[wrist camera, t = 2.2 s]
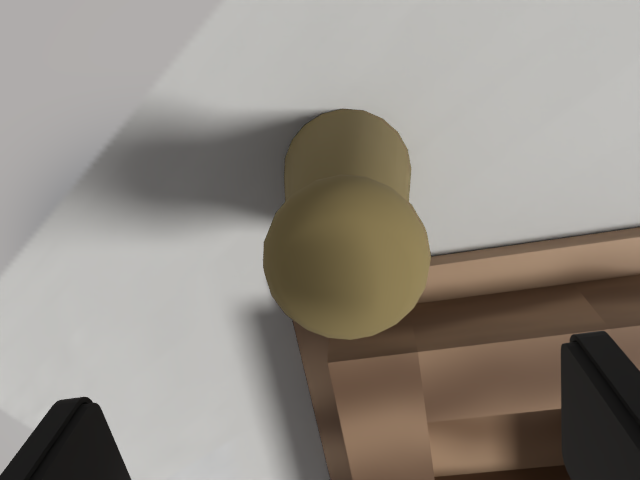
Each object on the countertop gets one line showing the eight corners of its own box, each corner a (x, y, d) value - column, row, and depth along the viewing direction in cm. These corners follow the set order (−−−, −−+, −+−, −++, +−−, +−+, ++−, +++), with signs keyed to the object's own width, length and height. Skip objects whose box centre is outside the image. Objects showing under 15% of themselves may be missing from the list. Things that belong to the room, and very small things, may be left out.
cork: (410, 103, 23) (455, 174, 13) (412, 228, 26) (452, 367, 16) (276, 113, 24) (224, 190, 14) (290, 235, 26) (255, 374, 16)
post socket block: (286, 277, 27) (274, 330, 23) (695, 219, 25) (773, 266, 20) (347, 538, 35) (347, 617, 31) (664, 513, 33) (715, 595, 28)
